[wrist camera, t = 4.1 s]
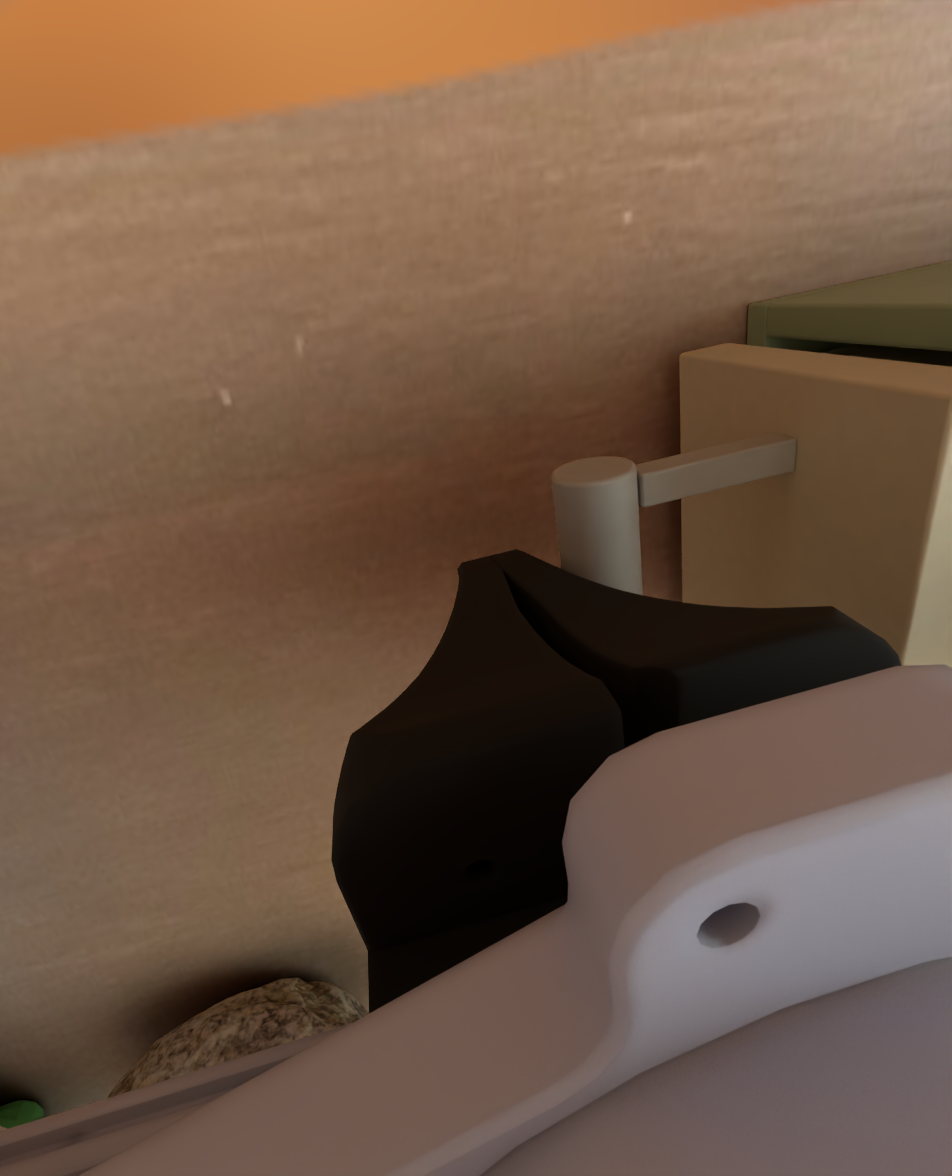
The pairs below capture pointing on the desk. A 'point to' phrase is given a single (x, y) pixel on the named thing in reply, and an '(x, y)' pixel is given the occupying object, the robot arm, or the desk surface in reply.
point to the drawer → (792, 490)
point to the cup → (19, 1113)
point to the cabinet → (861, 314)
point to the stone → (244, 1029)
